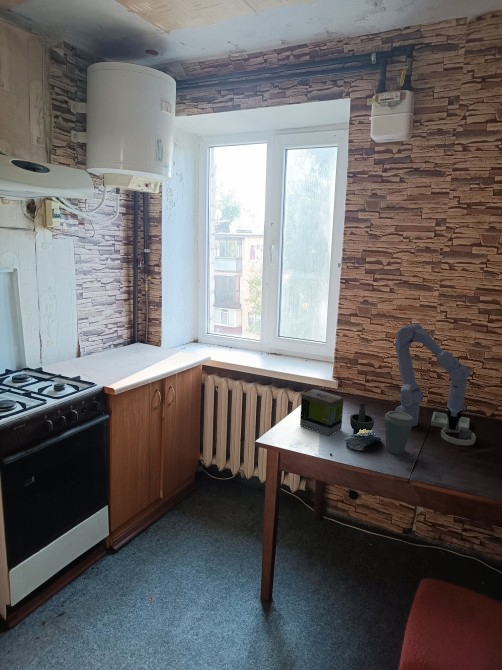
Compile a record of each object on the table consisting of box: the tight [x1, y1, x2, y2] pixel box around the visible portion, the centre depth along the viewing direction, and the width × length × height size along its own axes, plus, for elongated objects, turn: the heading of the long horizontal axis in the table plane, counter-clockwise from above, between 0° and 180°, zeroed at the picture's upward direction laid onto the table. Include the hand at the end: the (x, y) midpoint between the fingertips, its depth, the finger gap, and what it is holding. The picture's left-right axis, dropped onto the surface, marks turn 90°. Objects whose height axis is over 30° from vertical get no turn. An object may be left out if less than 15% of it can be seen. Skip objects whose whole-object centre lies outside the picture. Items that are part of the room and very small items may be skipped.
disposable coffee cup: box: [384, 410, 414, 455], centre depth 168 cm, size 11×11×15 cm
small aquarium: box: [299, 388, 344, 437], centre depth 187 cm, size 15×10×15 cm, turn 48°
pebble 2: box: [458, 428, 473, 440], centre depth 178 cm, size 4×4×4 cm
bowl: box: [440, 427, 477, 447], centre depth 180 cm, size 12×12×3 cm
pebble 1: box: [447, 420, 460, 431], centre depth 180 cm, size 4×4×4 cm
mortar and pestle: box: [349, 402, 375, 435], centre depth 183 cm, size 11×9×12 cm
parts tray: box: [430, 411, 470, 430], centre depth 193 cm, size 15×12×3 cm
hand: (452, 426), depth 180 cm, fingers closed on pebble 1, 4 cm apart
